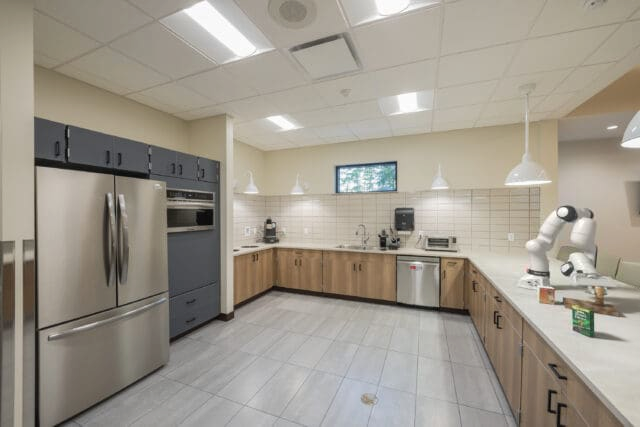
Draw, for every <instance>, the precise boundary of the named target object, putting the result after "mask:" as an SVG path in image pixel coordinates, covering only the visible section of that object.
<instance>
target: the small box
mask: <svg viewBox="0 0 640 427" xmlns="http://www.w3.org/2000/svg"><path fill="white" fill-rule="evenodd" d="M555 291H556V289H555V288H554V287H552V286H551V287H548V286H539V285H537V290H536V301H537V303H538V304H545V305H552V306H555V305H556V304H555V303H556V302H555V301H556V299H555V296H556V294H555V293H556V292H555Z"/></svg>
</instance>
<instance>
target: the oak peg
mask: <svg viewBox="0 0 640 427" xmlns="http://www.w3.org/2000/svg"><path fill="white" fill-rule="evenodd" d="M594 291H596V292H597V294H596V295H595V294H594V298H595V300H594V302H595V303H596V304H600V305H604V304H605V295H604V288H603V287H598V286H595V289H594Z"/></svg>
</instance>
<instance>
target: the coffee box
mask: <svg viewBox="0 0 640 427" xmlns="http://www.w3.org/2000/svg"><path fill="white" fill-rule="evenodd" d="M571 311H572V312H571V314H572V320H571V321H572V331H574V332H576V333H579V334H581V335H584V336H586V337H588V338H595V313H594V310H591V309H588V308H584V307H581V306H578V305H572V309H571Z"/></svg>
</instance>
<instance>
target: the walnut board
mask: <svg viewBox="0 0 640 427" xmlns="http://www.w3.org/2000/svg"><path fill="white" fill-rule="evenodd" d="M562 304H563V306H564V308H565V309H568V310H569V309H570V310H572V305H578V306H581V307H584V308H588V309H591V310H594V314H599V315H604V316H610V317H615V318H619V317H620V310H618V309H617V308H616V307H615V305H614V304H612V303H611V304H609V303H604V305H600V304H596V303H595V301H590V300H583V299H576V298H571V297H570V298H569V297H564V296H563V297H562Z"/></svg>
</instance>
